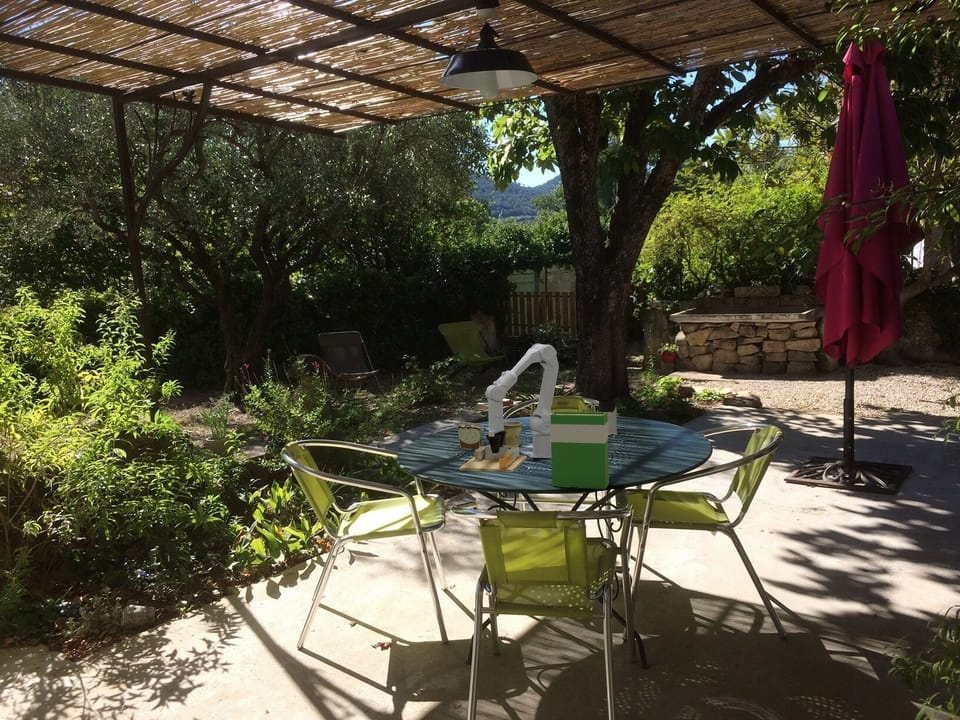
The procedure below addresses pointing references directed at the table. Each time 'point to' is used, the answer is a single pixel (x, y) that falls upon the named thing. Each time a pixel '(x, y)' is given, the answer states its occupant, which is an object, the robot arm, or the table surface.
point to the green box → (580, 449)
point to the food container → (470, 435)
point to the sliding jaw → (509, 457)
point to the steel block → (495, 456)
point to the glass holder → (609, 414)
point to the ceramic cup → (512, 433)
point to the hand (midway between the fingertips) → (497, 451)
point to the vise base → (489, 463)
